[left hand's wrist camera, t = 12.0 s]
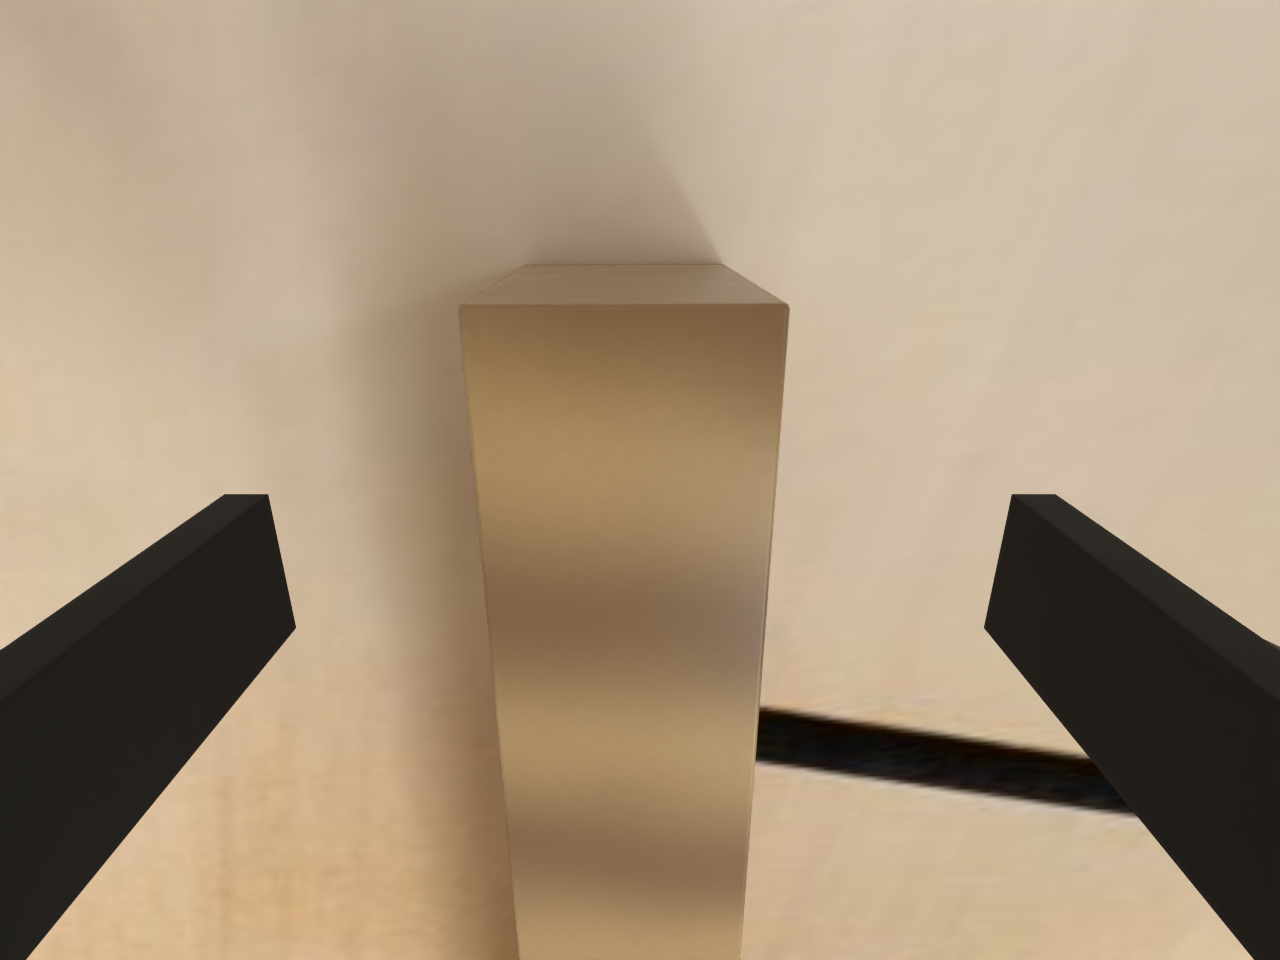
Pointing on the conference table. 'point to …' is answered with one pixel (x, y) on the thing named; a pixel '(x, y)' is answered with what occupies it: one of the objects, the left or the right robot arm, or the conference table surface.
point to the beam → (626, 592)
